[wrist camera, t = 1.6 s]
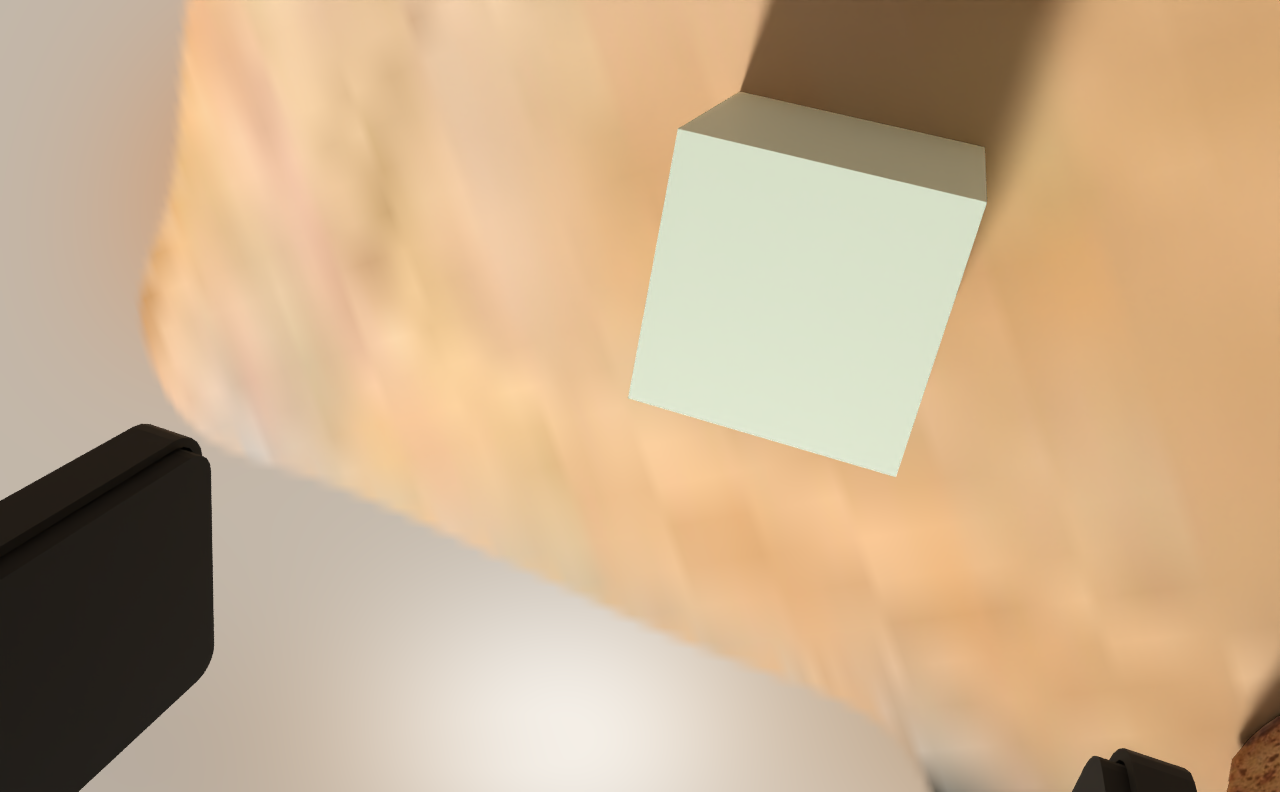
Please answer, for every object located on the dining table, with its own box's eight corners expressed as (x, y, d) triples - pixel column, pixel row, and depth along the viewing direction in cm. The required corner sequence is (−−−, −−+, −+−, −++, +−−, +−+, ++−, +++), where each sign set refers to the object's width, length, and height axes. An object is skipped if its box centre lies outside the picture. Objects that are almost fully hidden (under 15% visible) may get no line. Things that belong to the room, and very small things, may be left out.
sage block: (740, 91, 25) (678, 128, 20) (984, 146, 24) (986, 202, 19) (694, 312, 28) (628, 398, 22) (911, 372, 27) (895, 477, 21)
